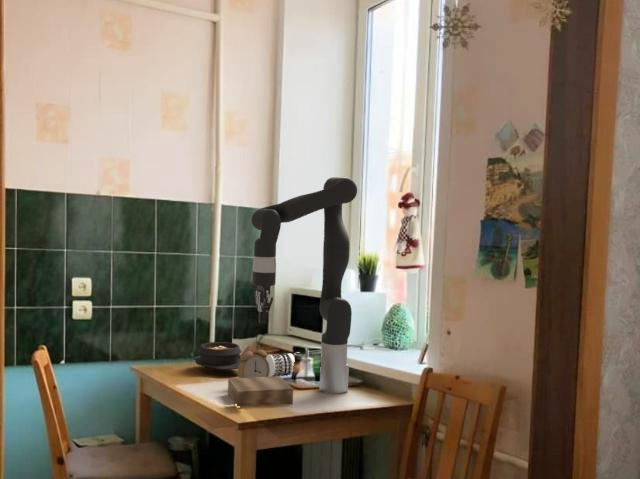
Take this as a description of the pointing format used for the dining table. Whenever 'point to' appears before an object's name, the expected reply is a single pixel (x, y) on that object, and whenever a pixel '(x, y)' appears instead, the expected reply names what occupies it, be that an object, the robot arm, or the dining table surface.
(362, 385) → the dining table surface
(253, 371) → the alarm clock
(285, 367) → the decorative candle
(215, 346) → the casserole
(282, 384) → the walnut block
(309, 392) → the dining table surface
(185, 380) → the dining table surface
